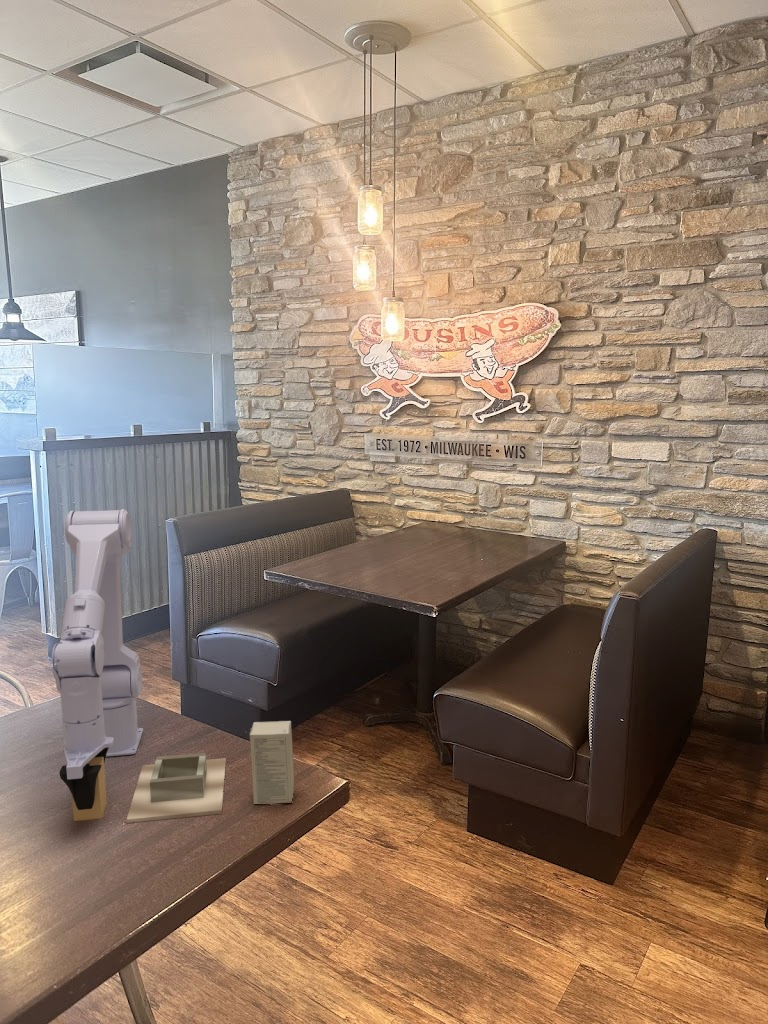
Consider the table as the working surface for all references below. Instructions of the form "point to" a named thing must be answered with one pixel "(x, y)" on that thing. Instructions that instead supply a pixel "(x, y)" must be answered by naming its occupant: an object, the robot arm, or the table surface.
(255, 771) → the skincare box
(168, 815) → the socket stand
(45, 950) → the table surface
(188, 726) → the table surface
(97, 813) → the peg
